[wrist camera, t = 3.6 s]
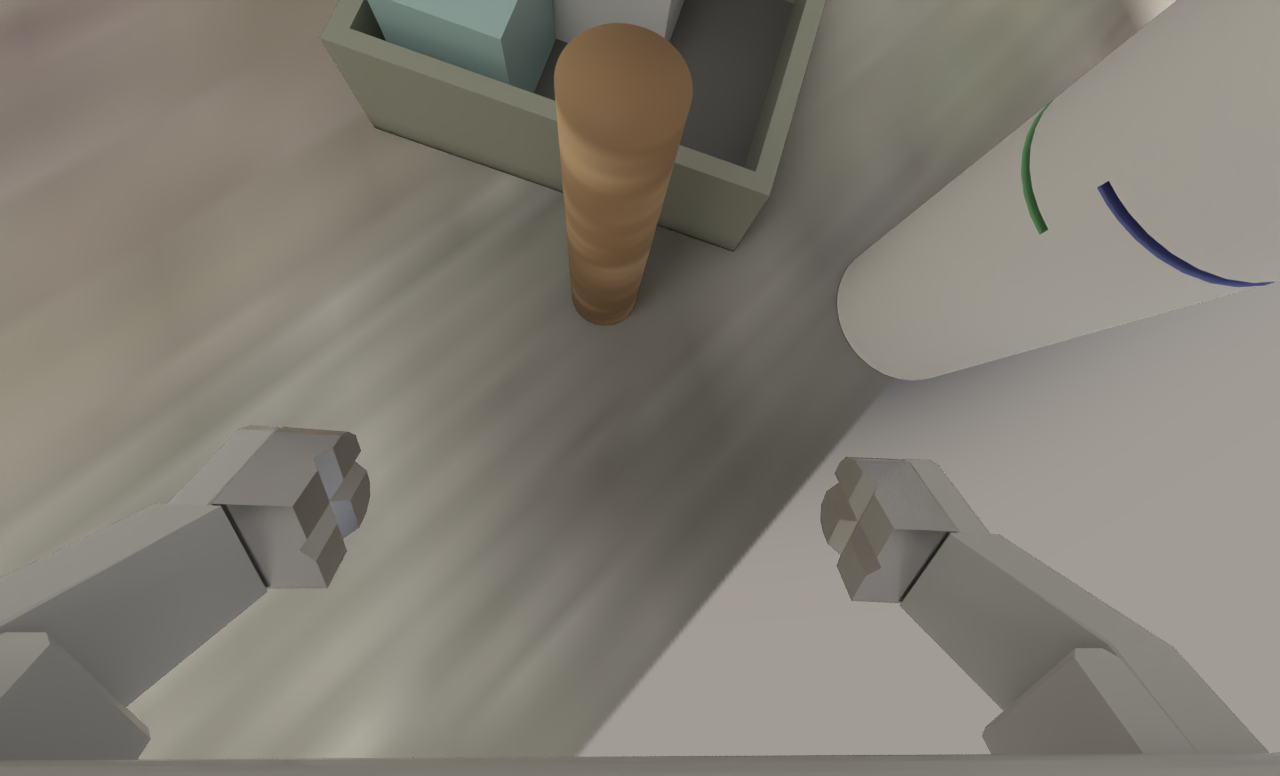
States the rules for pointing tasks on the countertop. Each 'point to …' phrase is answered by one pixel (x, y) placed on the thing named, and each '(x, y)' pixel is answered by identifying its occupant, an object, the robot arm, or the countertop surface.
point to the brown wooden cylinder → (616, 157)
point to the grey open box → (525, 96)
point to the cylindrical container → (1092, 205)
